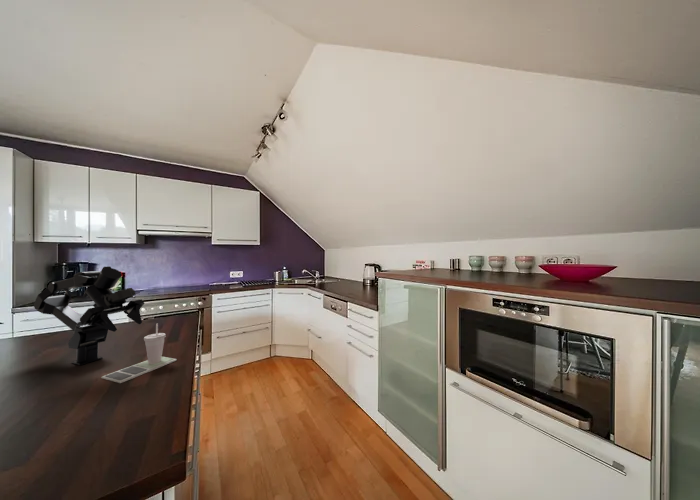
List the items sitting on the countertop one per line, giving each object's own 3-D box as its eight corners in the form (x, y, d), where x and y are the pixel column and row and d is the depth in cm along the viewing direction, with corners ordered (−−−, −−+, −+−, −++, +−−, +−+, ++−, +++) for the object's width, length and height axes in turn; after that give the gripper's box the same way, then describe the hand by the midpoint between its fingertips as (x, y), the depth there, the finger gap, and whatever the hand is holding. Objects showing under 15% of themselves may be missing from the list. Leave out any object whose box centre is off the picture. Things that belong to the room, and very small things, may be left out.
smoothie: (162, 363, 88) (162, 324, 88) (140, 367, 86) (140, 327, 86) (167, 357, 94) (168, 320, 94) (147, 360, 91) (147, 322, 92)
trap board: (101, 378, 79) (101, 376, 79) (158, 357, 96) (158, 355, 96) (120, 383, 76) (120, 381, 76) (176, 360, 92) (176, 358, 92)
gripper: (87, 285, 82) (115, 318, 81) (140, 279, 101) (164, 306, 99) (67, 308, 83) (94, 341, 81) (123, 298, 101) (147, 325, 100)
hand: (128, 326), depth 90 cm, fingers open, 9 cm apart
